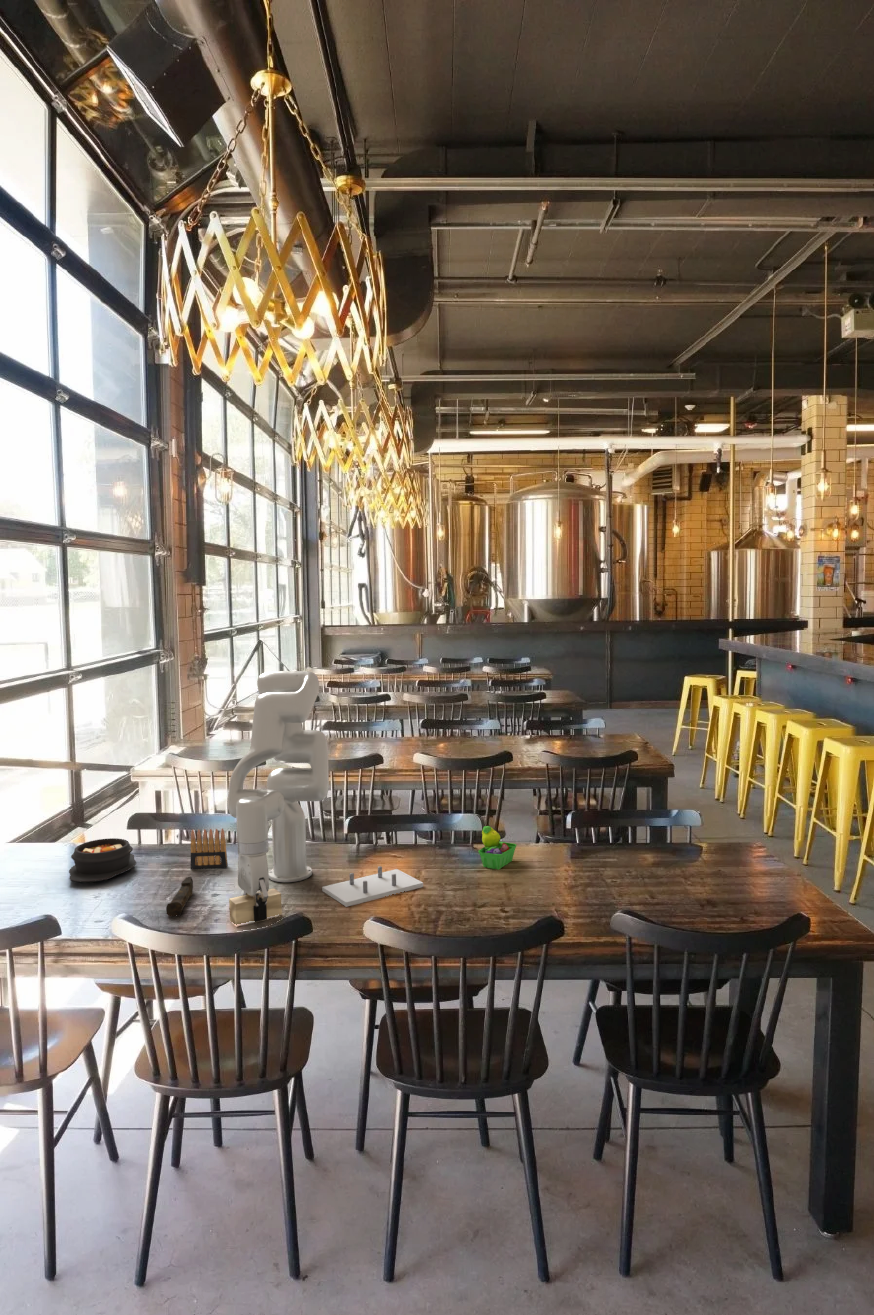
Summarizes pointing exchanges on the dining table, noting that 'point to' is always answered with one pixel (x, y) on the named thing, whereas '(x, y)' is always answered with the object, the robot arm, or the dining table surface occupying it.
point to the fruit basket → (495, 850)
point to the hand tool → (180, 898)
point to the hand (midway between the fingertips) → (255, 915)
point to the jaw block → (244, 905)
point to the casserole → (101, 860)
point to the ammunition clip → (208, 851)
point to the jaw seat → (371, 887)
